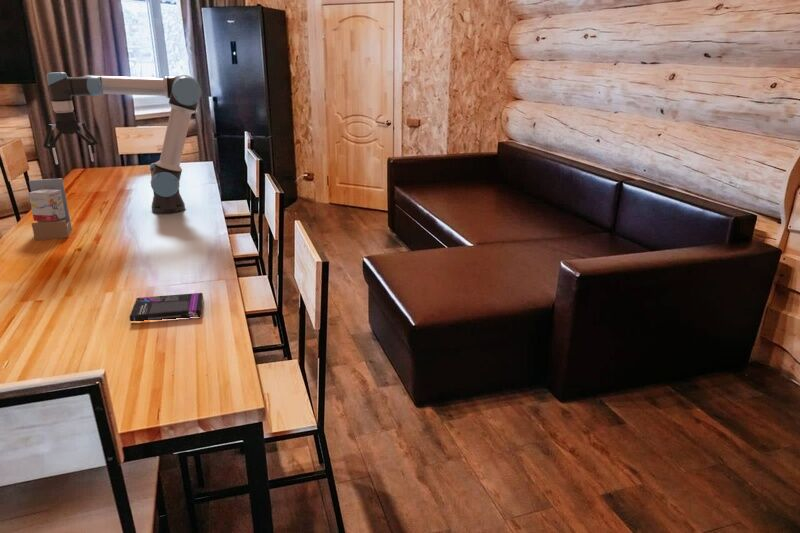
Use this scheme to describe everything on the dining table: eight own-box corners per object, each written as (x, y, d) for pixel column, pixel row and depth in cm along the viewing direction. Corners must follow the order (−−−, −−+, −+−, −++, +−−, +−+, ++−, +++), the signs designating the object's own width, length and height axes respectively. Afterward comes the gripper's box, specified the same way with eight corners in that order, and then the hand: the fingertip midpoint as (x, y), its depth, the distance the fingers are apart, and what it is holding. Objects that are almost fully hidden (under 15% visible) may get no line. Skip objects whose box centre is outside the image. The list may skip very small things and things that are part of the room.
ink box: (52, 221, 235) (46, 193, 231) (33, 220, 236) (27, 192, 232) (66, 216, 243) (61, 188, 239) (47, 215, 244) (42, 187, 240)
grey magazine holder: (71, 228, 250) (62, 178, 242) (68, 237, 239) (58, 185, 231) (39, 231, 246) (29, 180, 238) (35, 240, 234) (23, 187, 227)
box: (203, 302, 184) (137, 306, 179) (202, 292, 183) (136, 296, 178) (200, 320, 171) (129, 325, 166) (200, 309, 170) (128, 314, 165)
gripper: (97, 109, 248) (107, 158, 256) (30, 112, 239) (42, 163, 246) (97, 110, 242) (107, 161, 250) (28, 114, 232) (40, 166, 240)
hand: (75, 162), depth 248 cm, fingers open, 13 cm apart
